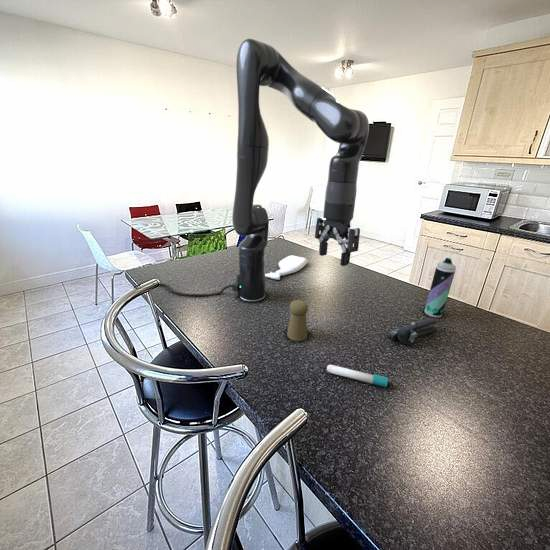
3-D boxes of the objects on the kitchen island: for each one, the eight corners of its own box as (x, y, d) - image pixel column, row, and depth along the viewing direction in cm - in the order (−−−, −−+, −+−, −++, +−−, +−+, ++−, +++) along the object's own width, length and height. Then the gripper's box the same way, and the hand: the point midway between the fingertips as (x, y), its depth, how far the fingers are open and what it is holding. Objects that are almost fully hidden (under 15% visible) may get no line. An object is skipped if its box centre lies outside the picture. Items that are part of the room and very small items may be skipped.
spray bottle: (308, 264, 138) (282, 283, 119) (288, 259, 143) (260, 277, 124) (309, 258, 136) (282, 277, 118) (289, 254, 142) (260, 271, 123)
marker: (325, 373, 72) (326, 366, 71) (327, 367, 74) (328, 360, 73) (386, 389, 68) (388, 382, 67) (386, 382, 70) (388, 375, 69)
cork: (306, 342, 83) (308, 309, 79) (285, 339, 84) (286, 306, 80) (308, 330, 89) (310, 298, 84) (288, 327, 90) (290, 296, 85)
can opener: (403, 351, 80) (407, 334, 78) (384, 338, 86) (387, 321, 84) (444, 335, 88) (449, 319, 86) (424, 323, 94) (428, 308, 91)
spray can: (421, 309, 102) (435, 255, 94) (436, 308, 102) (451, 255, 94) (430, 317, 97) (445, 261, 89) (445, 317, 97) (462, 261, 89)
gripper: (310, 196, 77) (306, 254, 84) (349, 206, 66) (341, 271, 73) (332, 194, 81) (326, 250, 87) (372, 203, 70) (362, 266, 76)
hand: (333, 259), depth 80 cm, fingers open, 8 cm apart
